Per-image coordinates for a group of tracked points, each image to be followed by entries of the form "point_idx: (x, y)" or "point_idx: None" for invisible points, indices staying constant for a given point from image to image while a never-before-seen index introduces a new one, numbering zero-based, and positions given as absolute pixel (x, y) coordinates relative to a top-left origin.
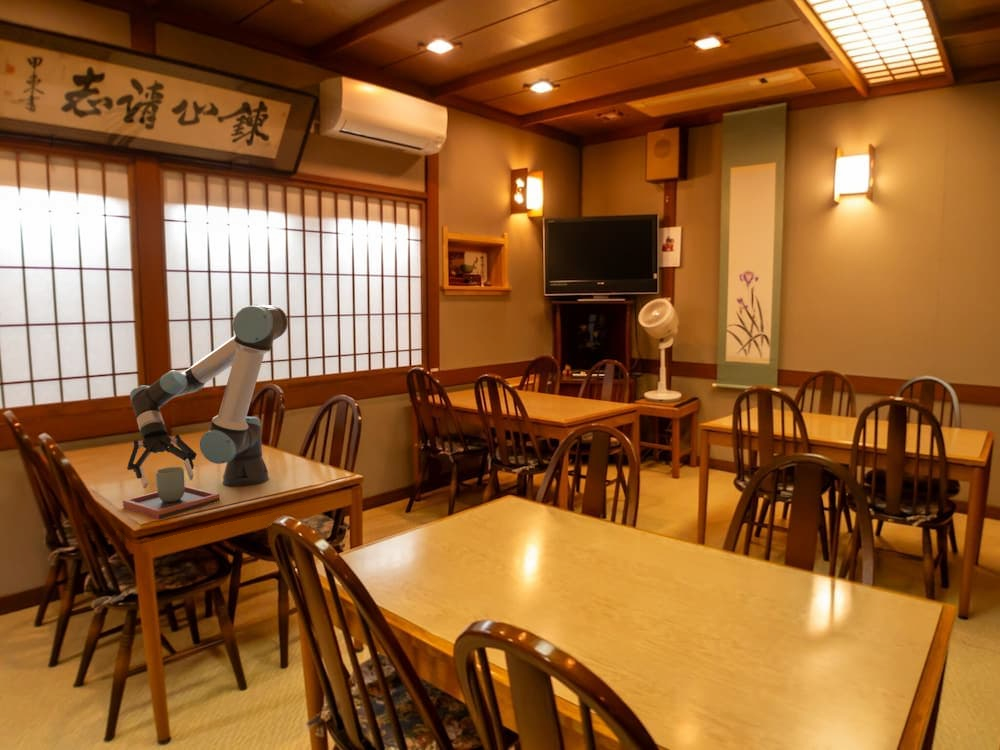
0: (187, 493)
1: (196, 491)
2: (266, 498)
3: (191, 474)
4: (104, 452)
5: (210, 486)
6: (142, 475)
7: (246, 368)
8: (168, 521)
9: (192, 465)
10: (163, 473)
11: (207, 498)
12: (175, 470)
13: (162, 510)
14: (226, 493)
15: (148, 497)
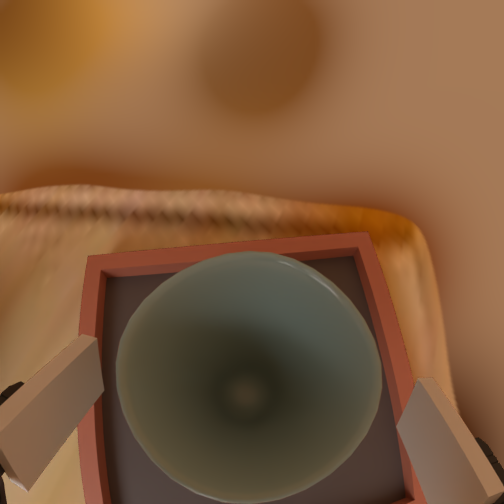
0: (128, 455)
1: (97, 412)
2: (33, 192)
3: (90, 341)
4: None
5: (8, 490)
6: (463, 422)
7: None
8: (338, 207)
9: (13, 392)
10: (343, 294)
11: (142, 254)
12: (164, 427)
13: (352, 233)
14: (24, 345)
15: None
